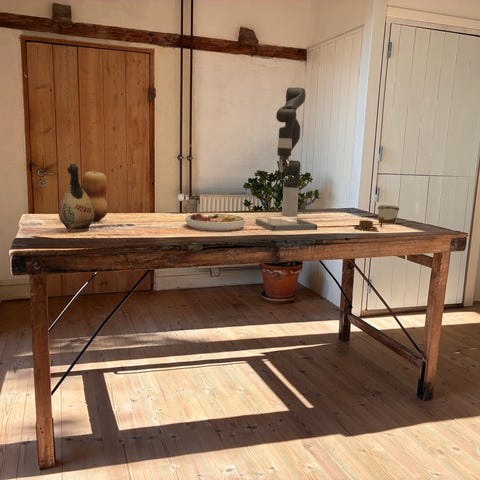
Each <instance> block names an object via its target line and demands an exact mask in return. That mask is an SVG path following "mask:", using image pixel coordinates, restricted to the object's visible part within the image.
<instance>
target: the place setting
mask: <svg viewBox="0 0 480 480" xmlns="http://www.w3.org/2000/svg"><path fill="white" fill-rule="evenodd" d="M379 221H380V222H381V223H380V228H382V227H383V222H384V217H380V220H379V219H378V222H379ZM358 224H359V225H358ZM358 224H357V225H354V226H353V229H355V230H358V231H362V230H363V232H365V231H366V232H370V233H371V232H372V233H379V232H380V231H379V230H378V227H376V226H374V221H372V220H367V219H366V220H364V219H362V220H361V219H360V220H359V223H358Z"/></svg>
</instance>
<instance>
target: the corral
mask: <svg viewBox="0 0 480 480" xmlns="http://www.w3.org/2000/svg"><path fill="white" fill-rule="evenodd" d="M296 218H297V217H296ZM255 225H258V226H259V227H263V228H265V229H267V230H270V231H272V232H273V231H275V232H276V231H278V232H279V231H311V230H312V231H314V230H315V231H316V230H318V224H316V223H314V222H311V221H307V220H303V219H301V218H297V225H272V224H270V223H268V221H264V220H262V219H259V218H256V219H255Z"/></svg>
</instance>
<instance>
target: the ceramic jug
mask: <svg viewBox="0 0 480 480" xmlns="http://www.w3.org/2000/svg"><path fill="white" fill-rule="evenodd" d="M67 173H68V174H69V175H70V184H69V185H68V186H67V189H66V190H65V191H64V194H63V195H62V197H61V199H60V201H59V205H58V211H57V212H58V213H57V215H58V217H59V221H60V223H62V224H63V225H64V227H65V228H66V229H67V231H68V232H75V233H76V232H77V233H78V232H84V231H90V226H91V225H92V224H93V222H94V221H93V220H94V216H95V212H94V207H93V204H92V201H91V200H90V198H89V196H88V195H87V194H86V192H85V191H84V189H83V188H82V185H80V182H79V167H78V166H77V164H76V163H71V164H69V166H68V167H67Z"/></svg>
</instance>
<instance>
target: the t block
mask: <svg viewBox="0 0 480 480" xmlns="http://www.w3.org/2000/svg"><path fill="white" fill-rule="evenodd" d="M267 223H270V224H272V225H298V224H297V217H296V216H281V217H277V216H274V217H273V216H272V217H267Z"/></svg>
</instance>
